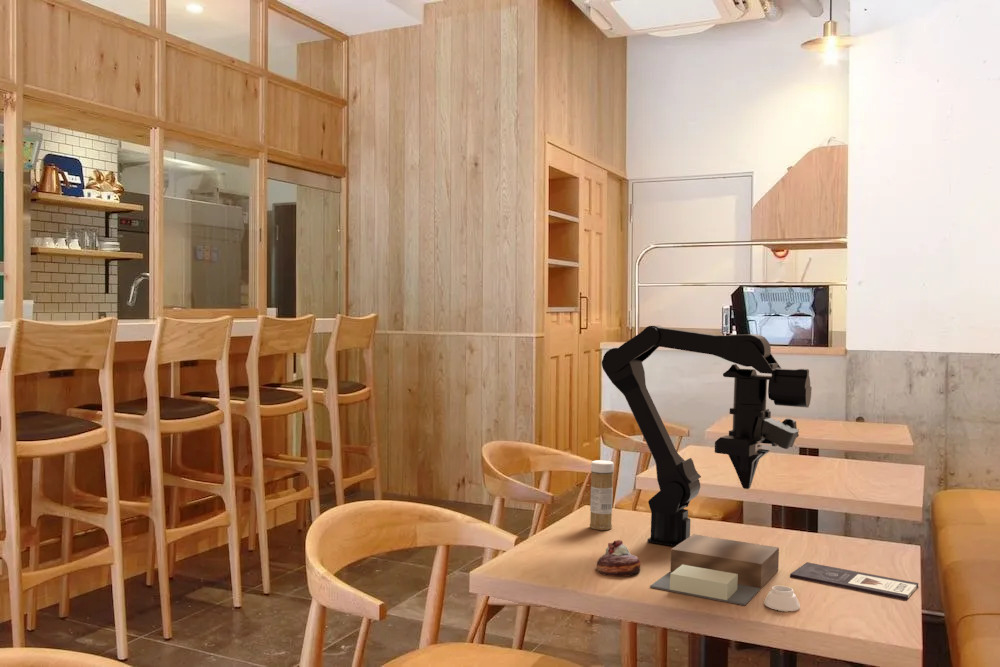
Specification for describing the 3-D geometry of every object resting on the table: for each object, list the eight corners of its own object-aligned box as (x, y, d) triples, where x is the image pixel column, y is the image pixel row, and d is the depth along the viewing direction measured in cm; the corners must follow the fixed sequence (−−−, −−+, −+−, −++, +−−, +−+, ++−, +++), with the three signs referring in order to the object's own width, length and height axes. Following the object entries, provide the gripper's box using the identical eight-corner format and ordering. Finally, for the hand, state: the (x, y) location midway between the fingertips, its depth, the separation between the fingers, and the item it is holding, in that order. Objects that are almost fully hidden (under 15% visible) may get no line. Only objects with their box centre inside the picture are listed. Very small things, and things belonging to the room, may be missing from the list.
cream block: (682, 564, 143) (681, 579, 143) (670, 573, 138) (669, 589, 138) (737, 574, 139) (737, 589, 139) (727, 583, 134) (726, 600, 134)
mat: (650, 587, 140) (650, 585, 140) (669, 573, 148) (669, 571, 148) (745, 605, 132) (745, 603, 132) (760, 589, 140) (760, 588, 140)
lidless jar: (764, 611, 131) (800, 615, 129) (765, 591, 130) (801, 595, 129) (764, 600, 135) (798, 604, 134) (764, 581, 135) (799, 585, 134)
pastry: (611, 562, 154) (612, 533, 154) (649, 570, 150) (650, 541, 149) (587, 572, 148) (587, 542, 148) (626, 581, 143) (627, 551, 143)
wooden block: (670, 572, 148) (671, 549, 148) (692, 556, 158) (693, 534, 158) (760, 589, 140) (761, 564, 140) (778, 570, 151) (779, 547, 151)
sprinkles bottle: (608, 525, 180) (610, 459, 179) (614, 530, 175) (616, 463, 175) (586, 525, 179) (588, 459, 179) (591, 530, 175) (593, 463, 174)
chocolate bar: (806, 562, 155) (918, 583, 144) (806, 567, 155) (918, 588, 144) (790, 574, 147) (906, 596, 137) (789, 579, 147) (905, 602, 137)
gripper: (779, 411, 148) (775, 503, 148) (808, 403, 163) (805, 486, 164) (715, 405, 154) (711, 494, 155) (749, 398, 170) (746, 478, 170)
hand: (746, 488), depth 161 cm, fingers closed
